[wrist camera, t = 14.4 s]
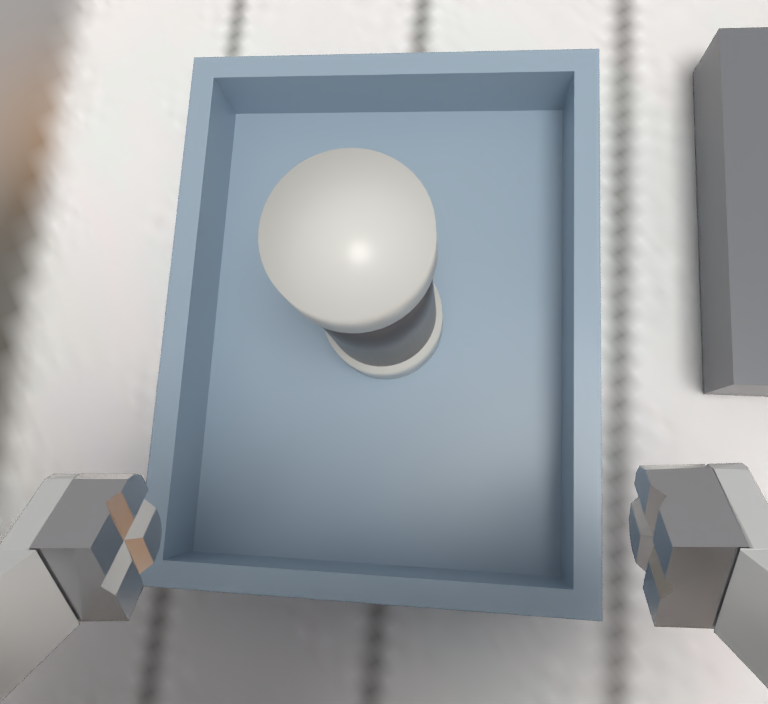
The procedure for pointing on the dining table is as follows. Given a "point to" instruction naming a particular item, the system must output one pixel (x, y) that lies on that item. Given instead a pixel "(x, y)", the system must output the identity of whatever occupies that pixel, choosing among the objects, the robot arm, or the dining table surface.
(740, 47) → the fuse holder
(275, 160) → the parts tray
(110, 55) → the dining table surface
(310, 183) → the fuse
